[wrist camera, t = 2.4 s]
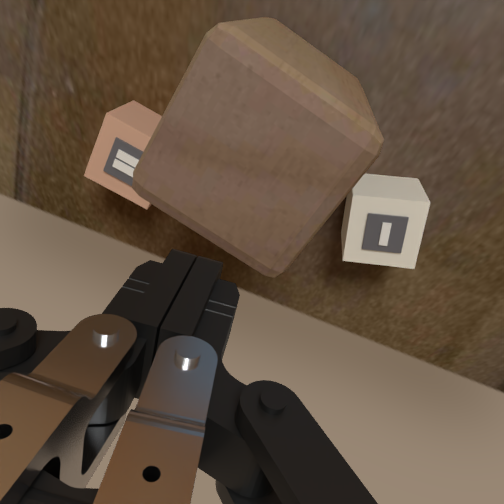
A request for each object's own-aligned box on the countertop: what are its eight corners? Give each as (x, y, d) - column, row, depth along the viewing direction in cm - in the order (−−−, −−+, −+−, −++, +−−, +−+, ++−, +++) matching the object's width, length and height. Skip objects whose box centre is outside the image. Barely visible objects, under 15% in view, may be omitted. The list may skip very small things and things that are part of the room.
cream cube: (417, 178, 43) (431, 203, 37) (404, 238, 45) (415, 270, 40) (350, 172, 43) (353, 196, 38) (341, 231, 46) (342, 262, 40)
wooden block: (297, 178, 44) (275, 290, 26) (205, 116, 43) (118, 191, 25) (366, 83, 39) (395, 143, 22) (266, 11, 38) (211, 13, 21)
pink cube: (192, 133, 44) (172, 151, 38) (167, 186, 46) (145, 211, 41) (133, 100, 43) (104, 113, 37) (112, 156, 46) (82, 176, 40)
